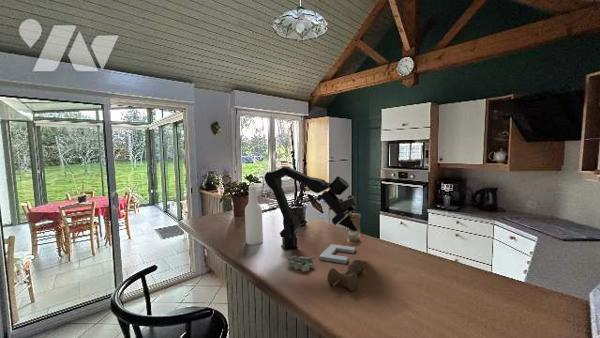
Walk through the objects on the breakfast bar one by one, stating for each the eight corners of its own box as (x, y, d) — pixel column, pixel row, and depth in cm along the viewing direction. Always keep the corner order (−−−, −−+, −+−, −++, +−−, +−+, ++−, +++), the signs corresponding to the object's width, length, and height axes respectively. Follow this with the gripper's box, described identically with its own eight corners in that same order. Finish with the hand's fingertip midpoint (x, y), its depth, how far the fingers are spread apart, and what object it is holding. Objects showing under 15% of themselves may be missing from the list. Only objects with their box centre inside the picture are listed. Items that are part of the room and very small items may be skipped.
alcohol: (261, 238, 147) (259, 184, 145) (264, 243, 139) (262, 186, 137) (245, 240, 145) (242, 185, 142) (247, 246, 136) (244, 187, 134)
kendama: (370, 276, 102) (346, 299, 86) (347, 270, 108) (321, 291, 92) (370, 260, 102) (346, 280, 86) (347, 256, 108) (320, 273, 92)
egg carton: (316, 266, 111) (316, 257, 111) (305, 273, 105) (305, 263, 105) (296, 260, 118) (295, 251, 117) (284, 266, 112) (284, 257, 111)
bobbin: (353, 246, 114) (353, 217, 113) (344, 242, 120) (344, 213, 119) (364, 244, 117) (365, 215, 116) (355, 239, 123) (355, 212, 122)
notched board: (319, 259, 118) (319, 256, 118) (331, 247, 132) (331, 244, 132) (345, 263, 112) (345, 260, 112) (355, 250, 127) (355, 247, 127)
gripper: (339, 193, 110) (366, 223, 106) (351, 187, 127) (374, 212, 123) (321, 210, 114) (346, 239, 110) (335, 202, 131) (357, 227, 127)
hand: (357, 228), depth 117 cm, fingers closed on bobbin, 5 cm apart
